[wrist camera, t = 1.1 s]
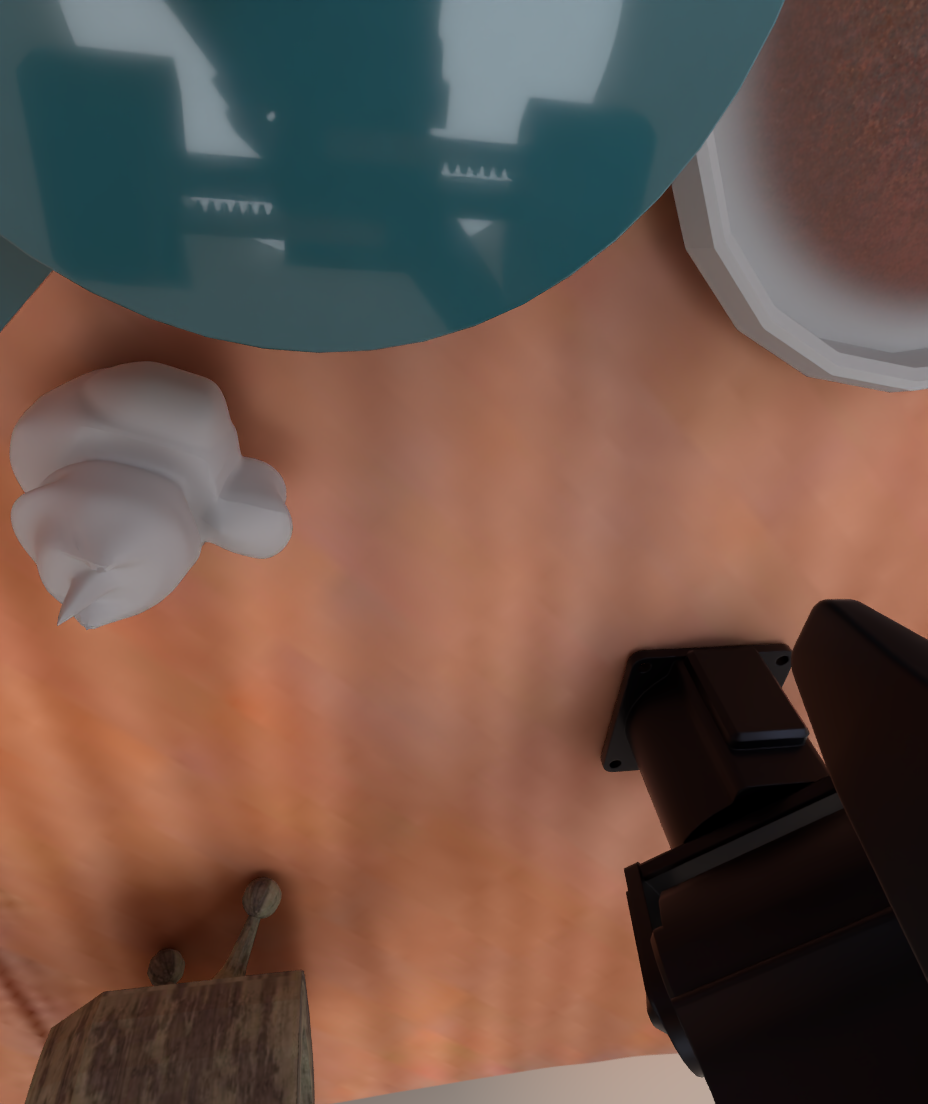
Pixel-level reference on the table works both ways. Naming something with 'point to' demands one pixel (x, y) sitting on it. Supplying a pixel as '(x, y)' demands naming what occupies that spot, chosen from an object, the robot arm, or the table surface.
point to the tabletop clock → (188, 1035)
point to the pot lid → (349, 151)
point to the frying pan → (823, 194)
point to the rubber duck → (136, 488)
